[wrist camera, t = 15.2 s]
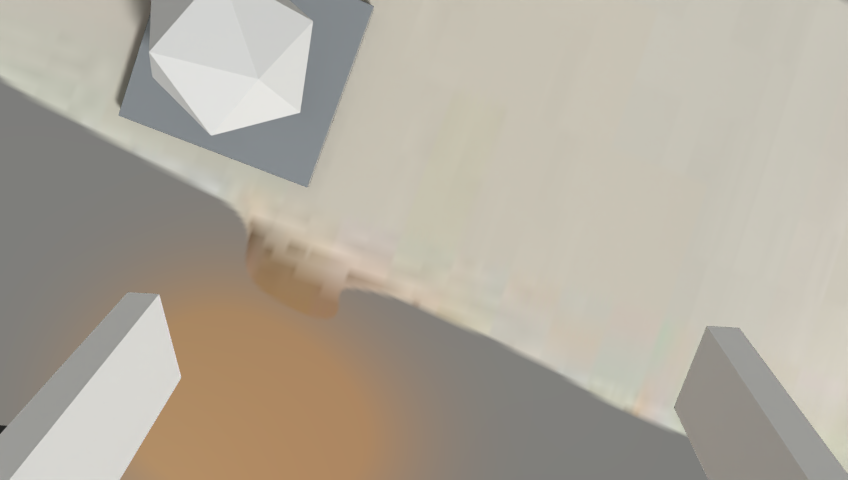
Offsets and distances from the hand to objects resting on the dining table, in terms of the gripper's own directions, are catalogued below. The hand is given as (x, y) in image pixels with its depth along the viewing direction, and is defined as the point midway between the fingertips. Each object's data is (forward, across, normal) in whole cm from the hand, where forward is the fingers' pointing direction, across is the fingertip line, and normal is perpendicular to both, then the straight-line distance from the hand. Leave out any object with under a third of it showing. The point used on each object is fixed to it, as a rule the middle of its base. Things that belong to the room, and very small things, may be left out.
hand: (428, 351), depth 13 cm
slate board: (+24, +12, -2) cm, 27 cm away
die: (+23, +12, -2) cm, 26 cm away
